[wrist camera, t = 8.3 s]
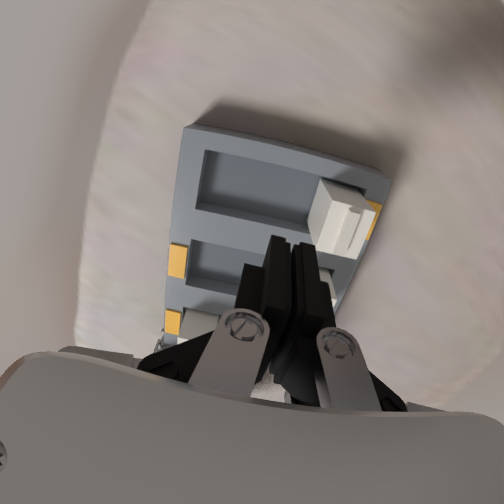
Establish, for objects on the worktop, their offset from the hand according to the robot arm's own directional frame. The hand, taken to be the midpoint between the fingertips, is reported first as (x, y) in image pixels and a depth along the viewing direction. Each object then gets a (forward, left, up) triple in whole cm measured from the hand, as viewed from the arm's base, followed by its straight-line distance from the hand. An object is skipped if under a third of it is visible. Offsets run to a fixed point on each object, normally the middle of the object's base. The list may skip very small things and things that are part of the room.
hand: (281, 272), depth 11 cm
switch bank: (+8, +1, -13) cm, 15 cm away
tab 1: (+15, -3, -12) cm, 19 cm away
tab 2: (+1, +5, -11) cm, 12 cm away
